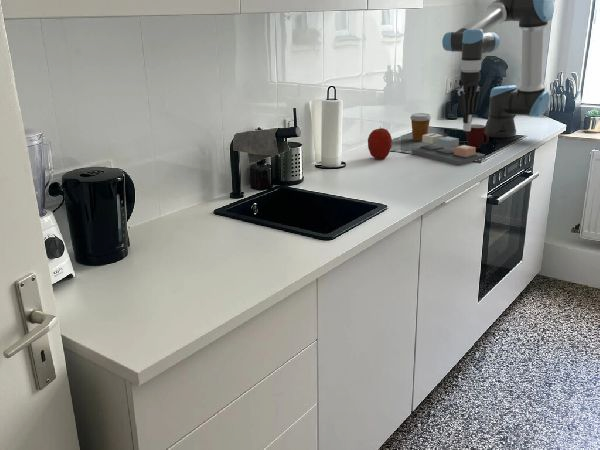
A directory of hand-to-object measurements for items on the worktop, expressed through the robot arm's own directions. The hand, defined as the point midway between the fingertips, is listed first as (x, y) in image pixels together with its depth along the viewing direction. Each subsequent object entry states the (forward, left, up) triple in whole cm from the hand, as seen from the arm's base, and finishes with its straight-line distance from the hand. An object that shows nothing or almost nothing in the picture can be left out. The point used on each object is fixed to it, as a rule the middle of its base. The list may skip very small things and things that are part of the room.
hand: (466, 130), depth 240 cm
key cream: (0, -18, -8) cm, 20 cm away
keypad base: (0, -9, -12) cm, 15 cm away
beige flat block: (0, 0, -10) cm, 10 cm away
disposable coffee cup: (-14, -39, -13) cm, 43 cm away
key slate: (0, -9, -8) cm, 12 cm away
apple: (+24, -25, -13) cm, 37 cm away
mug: (-20, -10, -13) cm, 25 cm away
